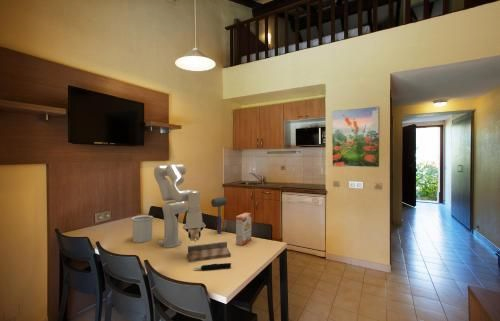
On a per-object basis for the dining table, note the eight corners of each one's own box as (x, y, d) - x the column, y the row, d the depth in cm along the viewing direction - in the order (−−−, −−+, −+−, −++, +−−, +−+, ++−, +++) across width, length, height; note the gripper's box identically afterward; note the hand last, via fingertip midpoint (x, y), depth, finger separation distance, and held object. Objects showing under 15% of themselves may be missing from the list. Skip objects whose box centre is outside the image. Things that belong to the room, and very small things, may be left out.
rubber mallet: (216, 235, 191) (215, 199, 191) (210, 233, 196) (210, 198, 196) (227, 232, 200) (227, 197, 200) (222, 230, 205) (221, 196, 205)
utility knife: (192, 272, 130) (192, 267, 130) (193, 269, 134) (193, 263, 134) (231, 269, 134) (231, 263, 134) (230, 265, 138) (230, 260, 138)
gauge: (191, 243, 143) (190, 232, 143) (190, 238, 153) (190, 227, 153) (199, 242, 144) (199, 231, 144) (198, 237, 155) (197, 226, 155)
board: (188, 262, 142) (188, 253, 142) (187, 253, 156) (187, 245, 156) (230, 256, 150) (230, 248, 150) (226, 248, 163) (226, 241, 163)
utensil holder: (142, 235, 193) (142, 214, 193) (157, 237, 188) (156, 215, 188) (127, 241, 180) (127, 218, 179) (142, 244, 174) (142, 220, 174)
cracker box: (243, 246, 168) (242, 217, 168) (235, 244, 170) (235, 216, 170) (251, 240, 180) (251, 212, 180) (245, 238, 183) (244, 212, 183)
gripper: (180, 212, 145) (180, 241, 145) (207, 210, 150) (208, 238, 150) (180, 209, 152) (180, 237, 152) (206, 207, 157) (207, 235, 157)
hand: (194, 237), depth 151 cm, fingers closed on gauge, 5 cm apart
